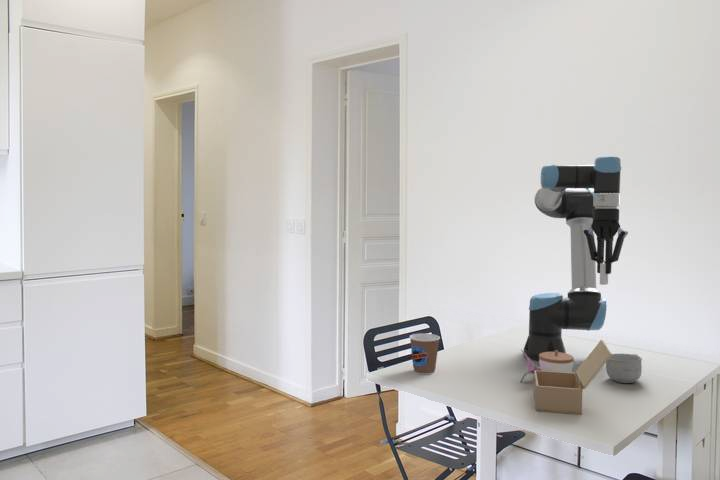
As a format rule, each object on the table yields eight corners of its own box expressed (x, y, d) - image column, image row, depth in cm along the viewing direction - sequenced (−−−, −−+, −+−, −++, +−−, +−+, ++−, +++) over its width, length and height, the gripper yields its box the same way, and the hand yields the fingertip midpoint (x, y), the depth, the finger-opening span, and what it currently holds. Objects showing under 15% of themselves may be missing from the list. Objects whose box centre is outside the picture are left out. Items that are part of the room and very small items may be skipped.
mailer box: (536, 410, 170) (536, 386, 170) (533, 393, 186) (534, 370, 185) (581, 414, 168) (582, 389, 167) (575, 396, 183) (576, 373, 183)
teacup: (625, 387, 191) (626, 362, 191) (597, 378, 201) (598, 354, 200) (655, 381, 198) (656, 357, 197) (626, 372, 207) (627, 349, 207)
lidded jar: (572, 376, 203) (573, 348, 203) (572, 385, 193) (573, 356, 193) (539, 373, 207) (539, 345, 206) (537, 382, 197) (538, 353, 196)
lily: (542, 393, 189) (556, 365, 190) (506, 375, 192) (520, 347, 193) (540, 394, 200) (553, 367, 201) (507, 376, 204) (520, 350, 205)
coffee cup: (402, 371, 208) (403, 336, 207) (421, 365, 216) (421, 331, 215) (427, 378, 201) (427, 341, 200) (445, 371, 209) (446, 336, 208)
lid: (608, 352, 165) (612, 354, 165) (600, 338, 180) (603, 341, 180) (580, 387, 167) (584, 390, 167) (574, 371, 183) (577, 373, 182)
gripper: (580, 207, 190) (578, 283, 191) (623, 208, 181) (620, 287, 182) (590, 207, 195) (588, 280, 197) (632, 207, 186) (629, 285, 188)
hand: (603, 284), depth 190 cm, fingers closed
